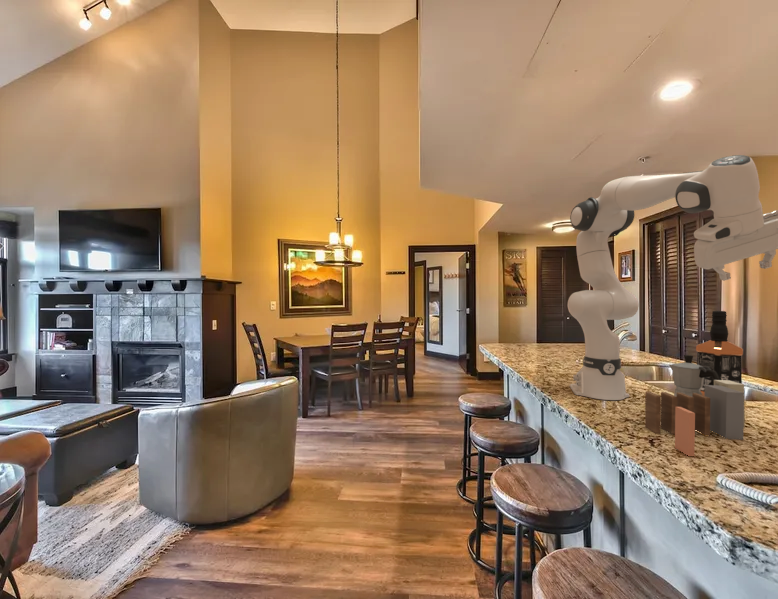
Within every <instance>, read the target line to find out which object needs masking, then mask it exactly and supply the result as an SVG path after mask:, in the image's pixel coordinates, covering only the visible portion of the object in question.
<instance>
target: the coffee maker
mask: <svg viewBox="0 0 778 599" xmlns="http://www.w3.org/2000/svg"><path fill="white" fill-rule="evenodd" d="M683 357H684V362H678V363H673V364H668V366H669V367H670V368H671V370H672V377H673V384H674V386H675V389H674V394H673V395H674V396H676V397H677V393H683V394H686V395H689V396H691V397H692V394H693V393H698V394H701V395H702V393H701V391H700V388H702V387H703V381H704V378H705V377H710V376H712V377H713V379H712V380H711V382H710V383H709V384H708V385H714V380H719V379H720V378H719V376H718V374H717V372H716V371H714V370H711V369H710V368H709V367H703V366H700V365H697V363H694V362H693V360H694V359H693V358H694V355H692V354H683ZM703 391H704V392H705V389H704V390H703Z"/></svg>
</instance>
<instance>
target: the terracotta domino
mask: <svg viewBox="0 0 778 599" xmlns="http://www.w3.org/2000/svg"><path fill="white" fill-rule="evenodd" d="M695 433H696V431H695V413H694V412H691V411H689V410H687V409H685V408H682V407H675V434H674V449H675V450H677V449H678V450H677V451H678V452H680V451H681V453H682V452H683V453H684V454H683V453H682V454H683V455H685V454H686V455H685V456H687V455H688V456H694V457H695V446H696V443H695V442H696V441H695V440H696V438H695V437H696V434H695ZM688 456H687V457H688Z"/></svg>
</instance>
